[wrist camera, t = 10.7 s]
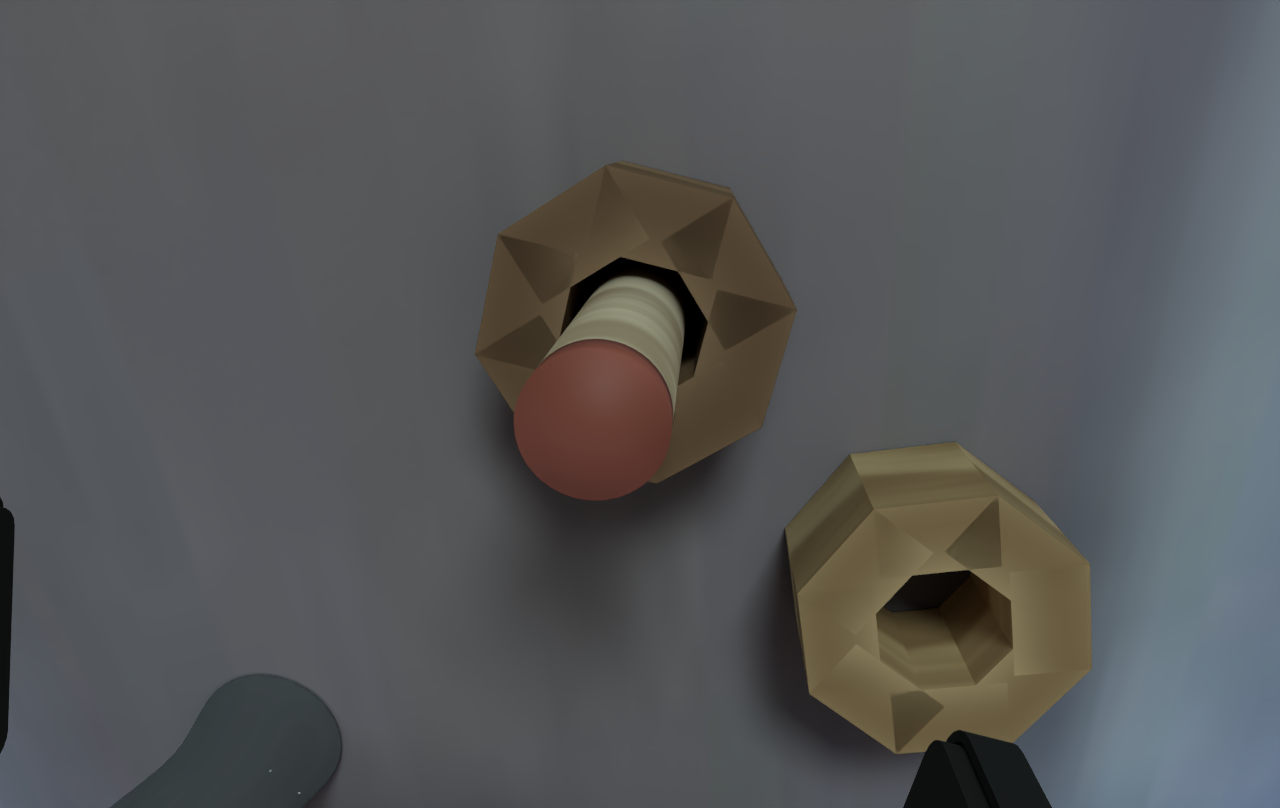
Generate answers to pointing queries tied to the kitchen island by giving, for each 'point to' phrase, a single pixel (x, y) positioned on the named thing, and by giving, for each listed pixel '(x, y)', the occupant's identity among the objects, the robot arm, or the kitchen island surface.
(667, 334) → the cream and red cylinder
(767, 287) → the walnut bead
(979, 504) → the oak bead
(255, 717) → the beer glass
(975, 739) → the robot arm
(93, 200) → the kitchen island surface
